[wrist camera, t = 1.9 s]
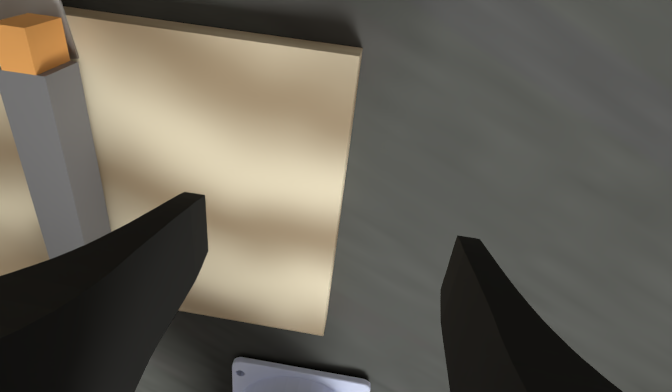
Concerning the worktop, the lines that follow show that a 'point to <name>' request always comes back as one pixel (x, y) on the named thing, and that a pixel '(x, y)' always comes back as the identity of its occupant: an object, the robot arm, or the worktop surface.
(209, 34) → the light wood flat board
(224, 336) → the worktop surface
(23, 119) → the grey bar
